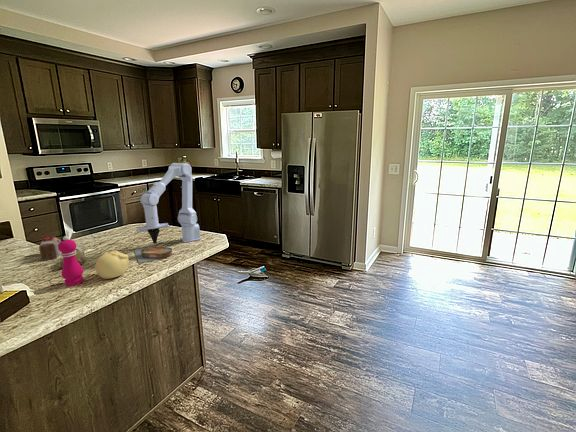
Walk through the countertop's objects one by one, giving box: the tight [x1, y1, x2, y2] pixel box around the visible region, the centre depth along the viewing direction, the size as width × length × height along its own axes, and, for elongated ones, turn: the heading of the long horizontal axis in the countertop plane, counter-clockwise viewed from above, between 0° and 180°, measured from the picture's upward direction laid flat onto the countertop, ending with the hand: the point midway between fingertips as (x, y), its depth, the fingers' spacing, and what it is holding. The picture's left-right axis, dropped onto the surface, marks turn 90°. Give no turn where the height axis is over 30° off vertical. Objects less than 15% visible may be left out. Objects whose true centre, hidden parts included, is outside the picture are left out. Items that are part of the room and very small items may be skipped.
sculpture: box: [94, 250, 130, 280], centre depth 129 cm, size 11×12×11 cm
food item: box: [38, 236, 62, 261], centre depth 153 cm, size 14×8×10 cm, turn 32°
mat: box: [133, 246, 163, 264], centre depth 154 cm, size 10×20×1 cm, turn 32°
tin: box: [141, 246, 173, 259], centre depth 152 cm, size 15×3×8 cm
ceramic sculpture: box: [58, 244, 87, 268], centre depth 143 cm, size 11×9×15 cm
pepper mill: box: [58, 235, 85, 287], centre depth 122 cm, size 7×7×20 cm
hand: (154, 243), depth 154 cm, fingers closed
